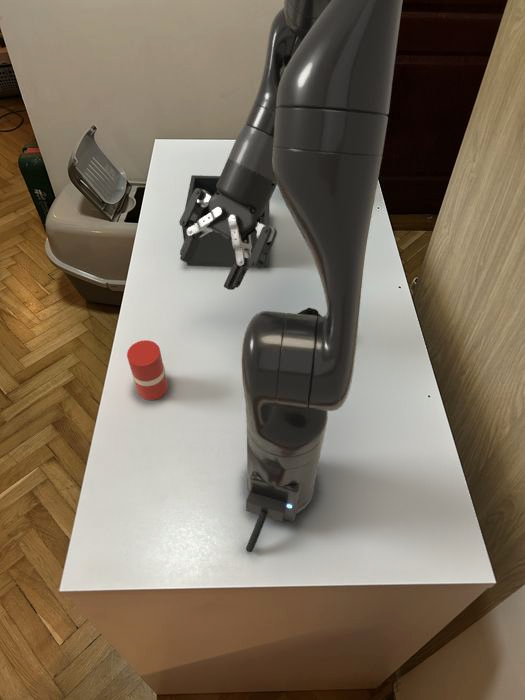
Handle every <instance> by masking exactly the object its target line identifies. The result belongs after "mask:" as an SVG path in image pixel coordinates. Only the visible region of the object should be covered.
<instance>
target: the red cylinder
mask: <svg viewBox="0 0 525 700" xmlns="http://www.w3.org/2000/svg"><path fill="white" fill-rule="evenodd" d="M126 357H127V361H128V364H129V369H130V371H131V375H132V379H133V381H134V384H135V388H136V391H137V394H138V395H139V396H140V398H142V399H143V400H146V401H155V400H158V399H161V398H162V397H164V396H165V394H166V393H167V391H168V388H169V385H168V381H167V375H166V369H165V365H164V363H163V358H162V353H161V349H160V346H159V345H158V343H156V342H155V341H153V340H148V339H147V340H146V339H145V340H138V341H136V342H135V343H133V344H131V345H130V346H129V348H128V349H127V353H126Z"/></svg>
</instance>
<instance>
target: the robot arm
mask: <svg viewBox="0 0 525 700" xmlns="http://www.w3.org/2000/svg"><path fill="white" fill-rule="evenodd" d="M403 1H404V0H284V1H283V7H282V8H280V9H279V11H277V13H276V15H275V16H274V18H273V19H272V21H271V24H270V29H269V33H268V39H267V47H266V53H265V61H264V66H263V71H262V75H261V81H260V84H259V86H258V91H257V94H256V97H255V99H254V101H253V104H252V106H251V108H250V111H249V113H248V115H247V118H246V120H245V122H244V125H243V127H242V129H241V130H240V132H239V133H238V136H237V137H236V139H235V140H234V143H233V145H232V148H231V149H230V150H231V151H230V152H229V155H228V157H227V159H226V161H225V164H224V167H223V168H222V171H221V172H220V173H221V174H220V175H219V176H220V178H219V180H218V183H217V185H216V188H217V189H216V192H215V194H214V195H213V196H211V195H210V193H209V192H208V191H205V190H202V189H200V188H196V189H195V190H194V192H193V194H192V196H191V198H190V200H189V202H188V204H187V206H186V205H185V206H186V208H185V207H184V210H183V213H182V215H181V217H180V219H179V221H178V222H179V226H181V227H182V226H183V227H184V228H185V230H186V231H187V236H186V239H185V241H184V240H183V243H182V246H181V248H180V251H179V255H180V257H179V259H180V261H182V262H184V263H187V262H189V263H190V262H191V261H192V260H193V258H194V255H195V253H196V251H197V248H198V246H199V244H200V241H201V240H200V239H199V238H200V237H202V236H204V235H205V234H207V233H209V232H212V231H214V232H215V233H219V234H221V235H222V236H223V237H224V238H226V239H227V240H230V241H232V245H233V249H234V250H235V255H236V262H237V264H233V266H232V267H230V270H229V273H228V275H227V277H226V280H225V282H224V284H223V288H225V289H226V290H231V291H233V290H235V289H238V288H239V287H240V286H241V284H242V283H243V279H244V278H245V276H246V274H247V271H248V270H249V269H250V268H251V269H259V270H262V269H264V268H263V266H264V264H265V262H266V259H267V257H268V258H269V255H270V252H271V250H272V247H273V244H274V242H275V240H276V237H277V235H278V230H277V228H275V227H273V226H270V225H269V226H266V225H264V224H261V222H260V220H261V215H262V213H263V212H264V211H265V209H266V207H267V205H268V203H269V201H270V202H271V198H272V196H273V195H274V192H275V189H276V188H277V187H278V190H279V192H280V194H281V195H280V196H282V199H283V201H284V203H285V206H286V208H287V209H288V211H289V213H290V215H291V217H292V219H293V221H294V222H295V224H296V227H297V228H298V230H299V233H300V234H301V236H302V238H303V239H304V242H305V244H306V246H307V247H308V250H309V253H310V255H311V258H312V260H313V262H314V265H315V268H316V271H317V274H318V275H319V279H320V283H321V286H322V290H323V294H324V299H325V303H326V313H325V315H324V316H322V317H320V316H318V318H317V316H312V315H302V314H298V313H293V312H292V313H291V312H283V311H281V312H280V311H272V310H271V311H269V310H262V311H260V312H258V313H256V314H254V316H253V317H252V318H251V320H250V321H249V323H248V324H247V327H246V329H245V332H244V336H243V341H242V347H241V348H242V349H241V378H242V386H243V394H244V402H245V420H246V422H245V423H246V468H247V479H246V488H247V493H248V495H247V498H246V501H245V507H246V509H245V511H246V512H248V513H251V514H254V515H255V514H256V515H258V517H257V519H256V522H255V525H254V527H253V530H252V532H251V535H250V537H249V540H248V543H247V544H246V546H245V551H247V552H248V553H253V552H254V549H255V546H256V545H257V542H258V540H259V537H260V534H261V532H262V530H263V527H264V524H265V522H266V519H267V518H268V519H272V520H275V521H279V522H283V520H286V521H290V522H294V521H295V519H296V515H297V514H299V513H301V512H302V511H303V510H305V509H306V508H307V506H308V505H309V504H310V503H311V500H312V498H313V495H314V491H315V487H316V486H315V483H316V478H317V474H318V473H317V472H318V468H319V463H320V458H321V454H322V449H323V443H324V439H325V435H326V429H327V425H328V420H329V419H328V418H329V413H328V412H333V411H334V412H335V411H338V410H340V408H342V407H343V406H344V404H345V402H346V400H347V399H348V396H349V394H350V391H351V387H352V381H353V376H354V369H355V362H356V352H357V341H358V331H359V330H358V329H359V321H360V308H361V298H362V286H363V276H364V267H365V258H366V252H367V244H368V238H369V232H370V227H371V221H372V215H373V209H374V203H375V200H376V199H375V197H376V193H377V187H378V183H379V177H380V171H381V166H382V161H383V153H384V148H385V140H386V135H387V129H388V128H387V127H388V121H389V116H388V115H389V113H390V107H391V99H392V98H391V97H392V90H393V89H392V88H393V81H394V73H395V63H396V57H397V56H396V55H397V48H398V40H399V31H400V25H401V24H400V23H401V16H402V15H401V14H402V9H403V7H402V6H403ZM206 206H208V208H209V214H207V215H206V216H204V217H202V218H201V219H199V217H200V215H201V213H202V211H203V209H204V207H206ZM198 219H199V220H198ZM255 231H257V239H258V240H257V242H256V244H255V247H254V249H253V252H252V254H251V249H252V244H251V237H250V234H252V233H253V232H255Z"/></svg>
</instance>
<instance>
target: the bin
mask: <svg viewBox="0 0 525 700" xmlns="http://www.w3.org/2000/svg"><path fill="white" fill-rule="evenodd" d="M220 176H221V175H196V174H195V175H194V174H192V175H191V177H190V181H189V186H188V192H187V197H186V201H185V207H184V209H185V208H186V206H187V204H188V202H189V200H190V198H191V196H192V194H193V192H194V190H195V189H196V188H200V189H202V190H205V191H208V192H209V193H210V195H211V196H213V195H214V194H215V192H216V189H217V188H216V185H217V183H218V180H219V178H220ZM270 202H271V200H270V201H269V203H268V205H267V207H266V209H265V211H264V212H263V213H262V215H261V220H260V222H261V224H264V225H266V226H270V206H271V205H270V204H271V203H270ZM207 214H209V208H208V206H206V207H204V209H203V211H202V213H201V215H200V217H199V219H201V218H202V217H204V216H206V215H207ZM199 219H198V220H199ZM181 229H182V230H181V231H182V238H183V242H184V241H185V239H186V236H187V231H186V230H185V228H184V227H183V226H181ZM250 237H251V244H252V249H251V254H252V252H253V249H254V247H255V244H256V242H257V240H258V239H257V231H255V232H253V233H252V234H250ZM199 239H200V240H201V241H200V244H199V246H198V248H197V251H196V253H195V255H194V258H193V260H192V261H191V262H190V263H189V262H186V266H187V267H189V266H190V267H191V266H192V267H219V268H220V267H221V268H222V267H223V268H224V267H225V268H232V266H233V264H237V262H236V255H235V250H234V249H233V245H232V241H230V240H227V239H226V238H224V237H223V236H222V235H221V234H219V233H215V232H214V231H212V232H209V233H207V234H205V235H204V236H202V237H200V238H199ZM268 259H269V256H268V257H267V259H266V262H265V264H264V266H263V268H262V269H267V268H268V261H269V260H268Z"/></svg>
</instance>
